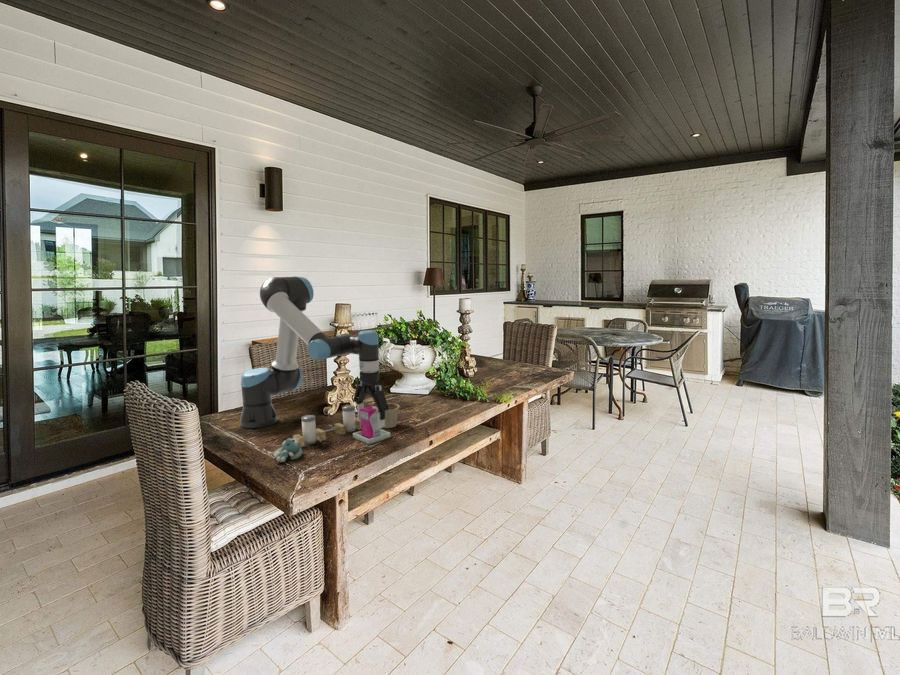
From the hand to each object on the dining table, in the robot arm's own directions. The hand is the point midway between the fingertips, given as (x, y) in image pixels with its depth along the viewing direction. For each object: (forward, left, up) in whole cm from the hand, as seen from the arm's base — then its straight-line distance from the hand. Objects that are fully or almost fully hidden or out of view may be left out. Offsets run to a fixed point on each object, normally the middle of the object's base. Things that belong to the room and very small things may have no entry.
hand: (371, 423), depth 182 cm
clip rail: (-15, -11, -6) cm, 19 cm away
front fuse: (-13, -19, -6) cm, 24 cm away
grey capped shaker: (-13, -1, -6) cm, 15 cm away
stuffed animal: (-6, -32, -6) cm, 33 cm away
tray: (0, 0, -6) cm, 6 cm away
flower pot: (-6, +13, -6) cm, 15 cm away
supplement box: (0, 0, -5) cm, 5 cm away
